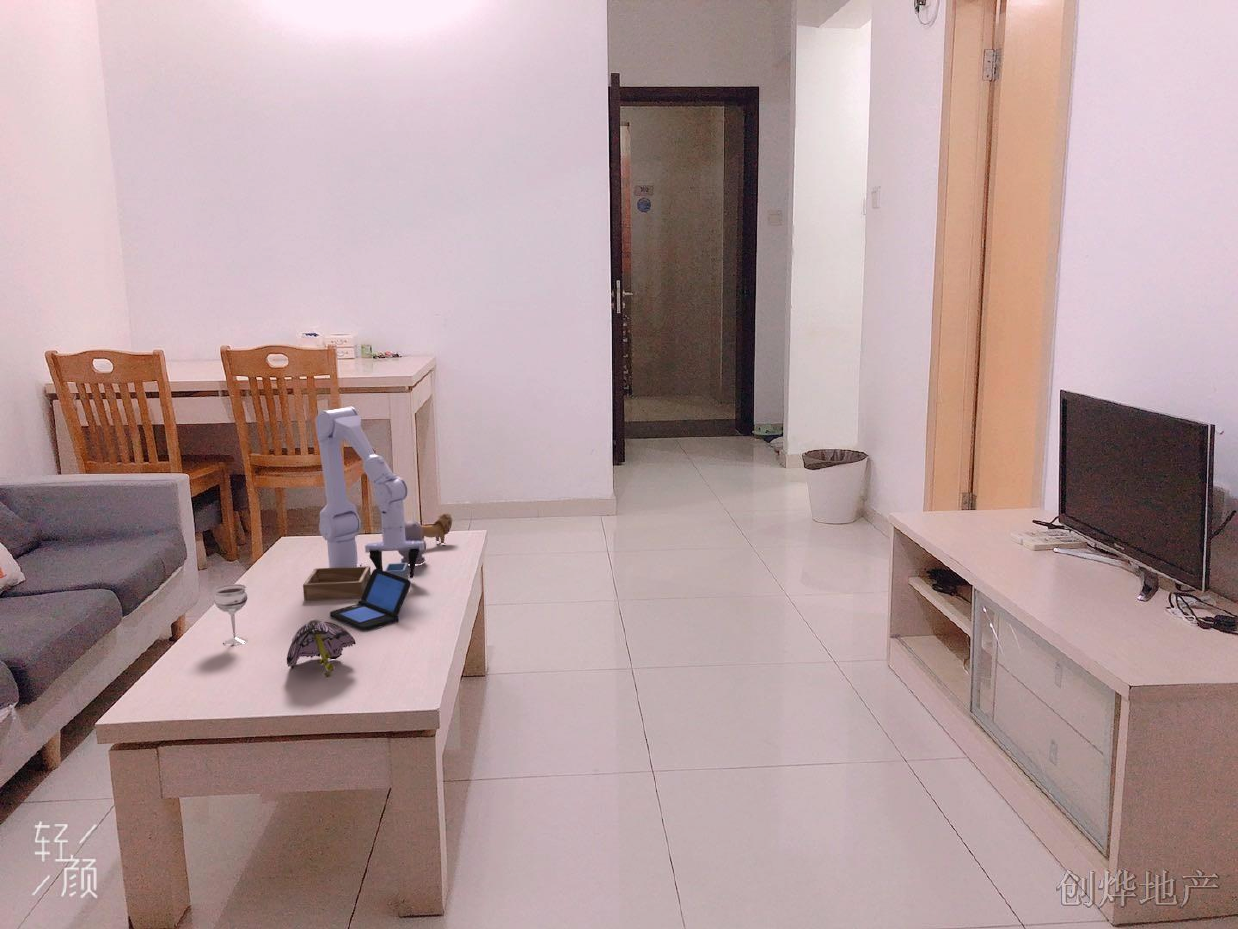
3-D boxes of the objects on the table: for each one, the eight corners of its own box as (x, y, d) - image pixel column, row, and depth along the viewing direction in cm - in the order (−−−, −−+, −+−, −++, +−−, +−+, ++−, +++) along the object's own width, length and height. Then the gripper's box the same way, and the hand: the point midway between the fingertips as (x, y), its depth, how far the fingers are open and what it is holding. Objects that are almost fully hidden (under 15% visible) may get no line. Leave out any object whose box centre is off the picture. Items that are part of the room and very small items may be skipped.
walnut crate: (316, 583, 263) (314, 568, 262) (371, 581, 264) (370, 566, 264) (304, 600, 249) (302, 584, 249) (362, 597, 251) (361, 582, 250)
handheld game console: (327, 618, 237) (324, 579, 236) (377, 604, 247) (374, 567, 245) (364, 633, 227) (361, 593, 225) (414, 618, 236) (412, 579, 234)
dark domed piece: (352, 607, 213) (338, 609, 198) (370, 660, 212) (356, 667, 197) (284, 630, 212) (265, 635, 197) (302, 684, 211) (283, 693, 196)
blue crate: (389, 580, 265) (387, 563, 264) (408, 579, 266) (407, 562, 265) (385, 588, 258) (384, 571, 257) (405, 587, 259) (404, 570, 258)
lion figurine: (448, 540, 303) (446, 510, 302) (457, 543, 299) (455, 513, 298) (403, 549, 294) (401, 519, 292) (412, 553, 290) (410, 522, 288)
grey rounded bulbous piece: (396, 560, 283) (394, 518, 280) (425, 557, 285) (422, 516, 283) (399, 569, 275) (397, 525, 272) (429, 566, 277) (426, 523, 275)
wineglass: (218, 639, 224) (213, 586, 222) (251, 634, 227) (246, 582, 224) (218, 649, 218) (213, 595, 216) (252, 644, 220) (246, 591, 218)
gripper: (361, 531, 255) (365, 583, 257) (420, 529, 256) (423, 581, 258) (366, 524, 262) (369, 575, 264) (423, 522, 263) (426, 573, 265)
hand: (396, 577), depth 262 cm, fingers open, 7 cm apart
